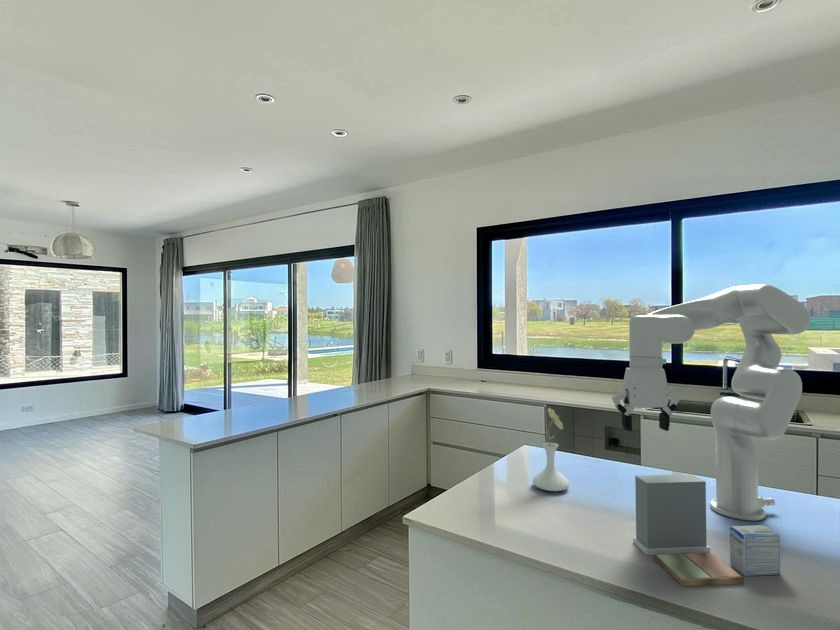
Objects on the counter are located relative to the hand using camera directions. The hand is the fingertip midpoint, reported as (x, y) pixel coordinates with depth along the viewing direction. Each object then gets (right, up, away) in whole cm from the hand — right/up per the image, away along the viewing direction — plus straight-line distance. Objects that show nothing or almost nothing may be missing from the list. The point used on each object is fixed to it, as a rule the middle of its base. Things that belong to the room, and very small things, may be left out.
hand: (645, 429), depth 116 cm
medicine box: (+14, -25, -19) cm, 35 cm away
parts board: (+1, -25, -20) cm, 32 cm away
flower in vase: (-16, -26, +29) cm, 42 cm away
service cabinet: (+1, -25, -10) cm, 27 cm away
